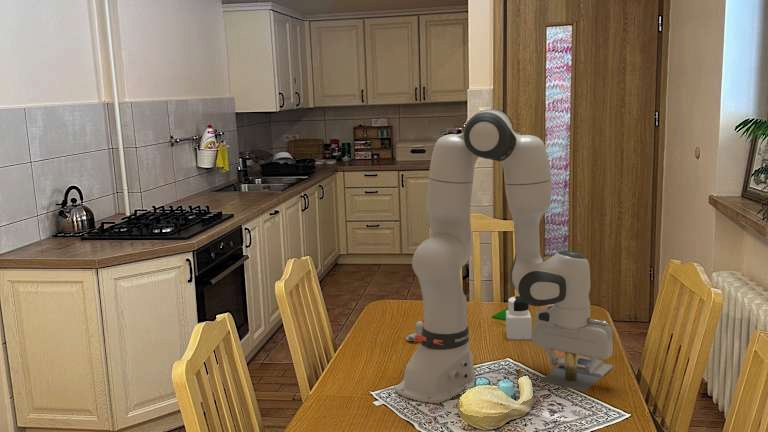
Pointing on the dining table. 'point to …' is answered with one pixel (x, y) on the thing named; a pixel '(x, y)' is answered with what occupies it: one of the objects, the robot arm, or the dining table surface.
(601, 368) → the frame
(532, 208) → the robot arm
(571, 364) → the brass pin
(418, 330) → the pacifier
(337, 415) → the dining table surface
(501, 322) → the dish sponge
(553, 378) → the mat
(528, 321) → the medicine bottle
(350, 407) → the dining table surface
